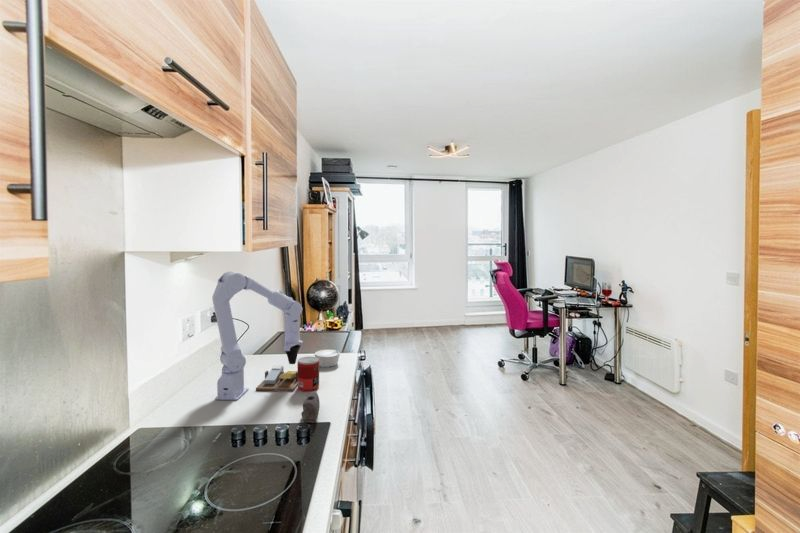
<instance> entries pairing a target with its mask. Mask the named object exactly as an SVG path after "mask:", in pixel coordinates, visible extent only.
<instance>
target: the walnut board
mask: <svg viewBox="0 0 800 533" xmlns="http://www.w3.org/2000/svg"><path fill="white" fill-rule="evenodd" d="M296 371H297V372H296V373H295V374H296V377H293V378H291V379H286V378H280V376H279V378H278V380H277V381H276V383H275V384H265V382H264V380H262V381H261V383H259V384H258V385H257V386H256V387H255V391H257V392H295V390H296V389H297V388H298V370H296ZM283 373H285V371H284V370H283V371H281V372H280V374H283ZM268 374H269V370H266V371H264V379H265V378H266V377H267V375H268Z"/></svg>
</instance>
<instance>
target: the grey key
mask: <svg viewBox="0 0 800 533" xmlns="http://www.w3.org/2000/svg"><path fill="white" fill-rule="evenodd" d="M281 371H284V366H283V365H282V364H280V365H277V364H276V365H275V364H274V365H273V366H272V368H271V369H270V371H268V375H267V377H266V378H265V377H264V380H263V381H264V382H265V384H275V383H276V381H277V380H278V378H279V376H280V372H281Z"/></svg>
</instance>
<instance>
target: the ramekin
mask: <svg viewBox="0 0 800 533" xmlns="http://www.w3.org/2000/svg"><path fill="white" fill-rule="evenodd" d="M314 352H315V351H314ZM340 355H341V354H340V351H338V350H336V349H321V350H317V351H316V352H315V353H314V357H317V358H319V367H320V366H321V367H320V368H330V367H329V366H332V367H335V366H337V364H338V362H339V358H340V357H339V356H340ZM334 365H335V366H334Z"/></svg>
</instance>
